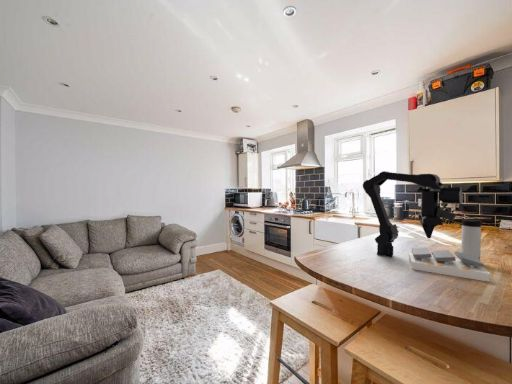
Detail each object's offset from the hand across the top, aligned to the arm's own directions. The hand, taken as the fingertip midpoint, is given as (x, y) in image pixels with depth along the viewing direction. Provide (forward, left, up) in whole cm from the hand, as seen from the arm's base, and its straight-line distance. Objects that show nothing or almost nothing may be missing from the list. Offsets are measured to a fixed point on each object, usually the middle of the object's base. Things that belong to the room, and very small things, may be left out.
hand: (428, 238), depth 93 cm
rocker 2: (+5, 0, -8) cm, 9 cm away
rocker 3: (+12, 0, -8) cm, 15 cm away
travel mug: (+17, +16, -12) cm, 27 cm away
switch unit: (+5, -2, -12) cm, 13 cm away
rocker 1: (-3, 0, -8) cm, 8 cm away
